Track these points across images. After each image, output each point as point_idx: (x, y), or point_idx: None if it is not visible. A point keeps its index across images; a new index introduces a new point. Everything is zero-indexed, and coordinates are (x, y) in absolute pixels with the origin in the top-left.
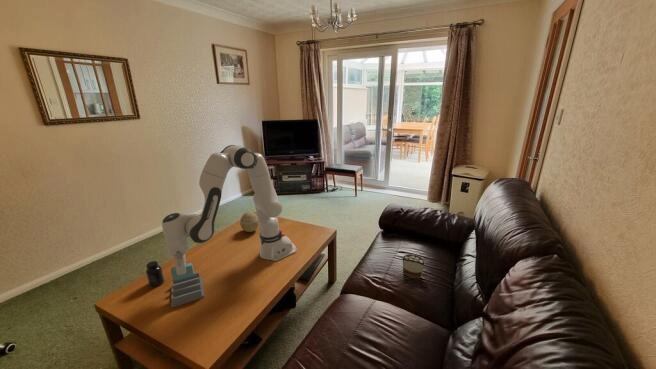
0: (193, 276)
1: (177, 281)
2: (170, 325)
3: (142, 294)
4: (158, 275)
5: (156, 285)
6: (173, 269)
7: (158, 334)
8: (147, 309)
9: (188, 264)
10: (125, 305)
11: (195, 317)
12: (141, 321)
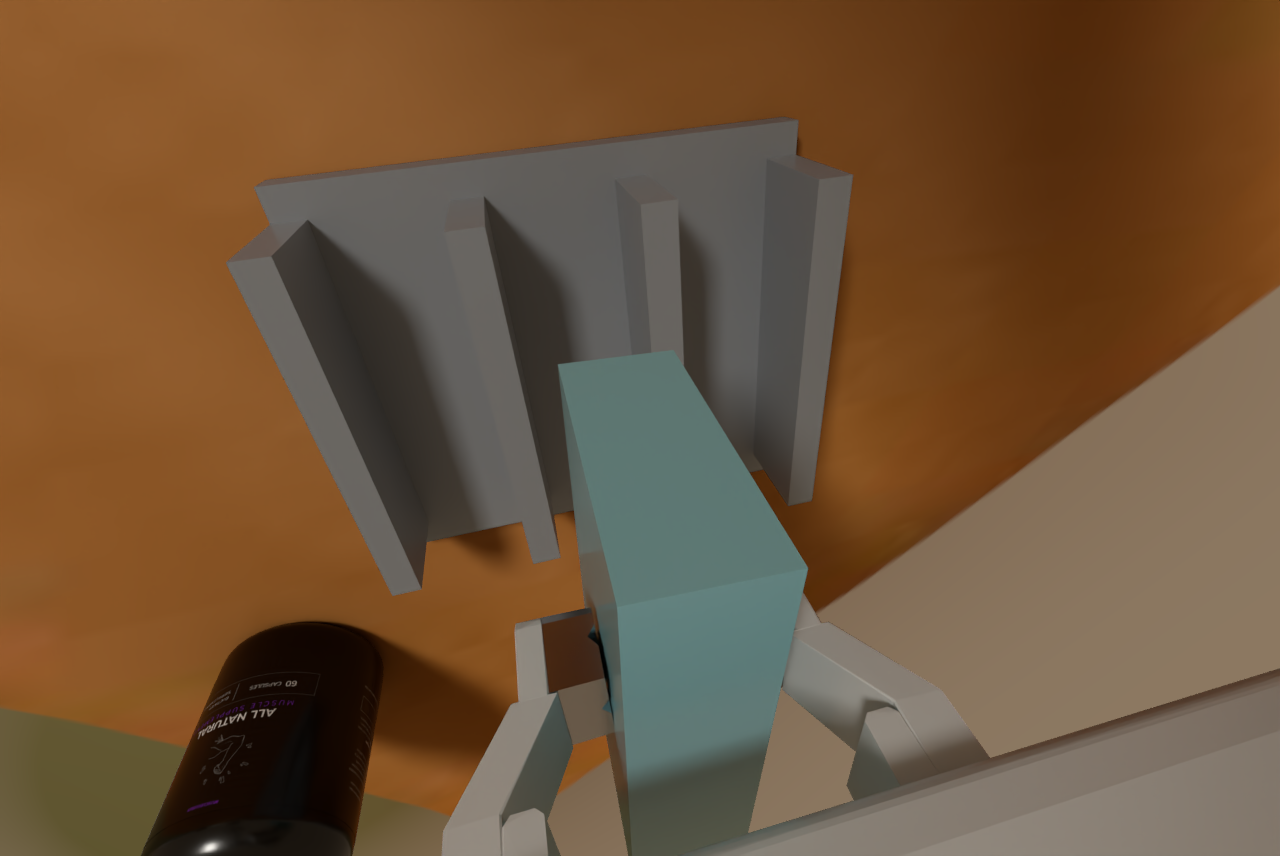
0: (326, 332)
1: (408, 518)
2: (971, 415)
3: (470, 697)
4: (325, 755)
5: (377, 662)
6: (731, 835)
7: (996, 471)
8: None
9: (691, 663)
10: None
11: (1041, 212)
12: None
